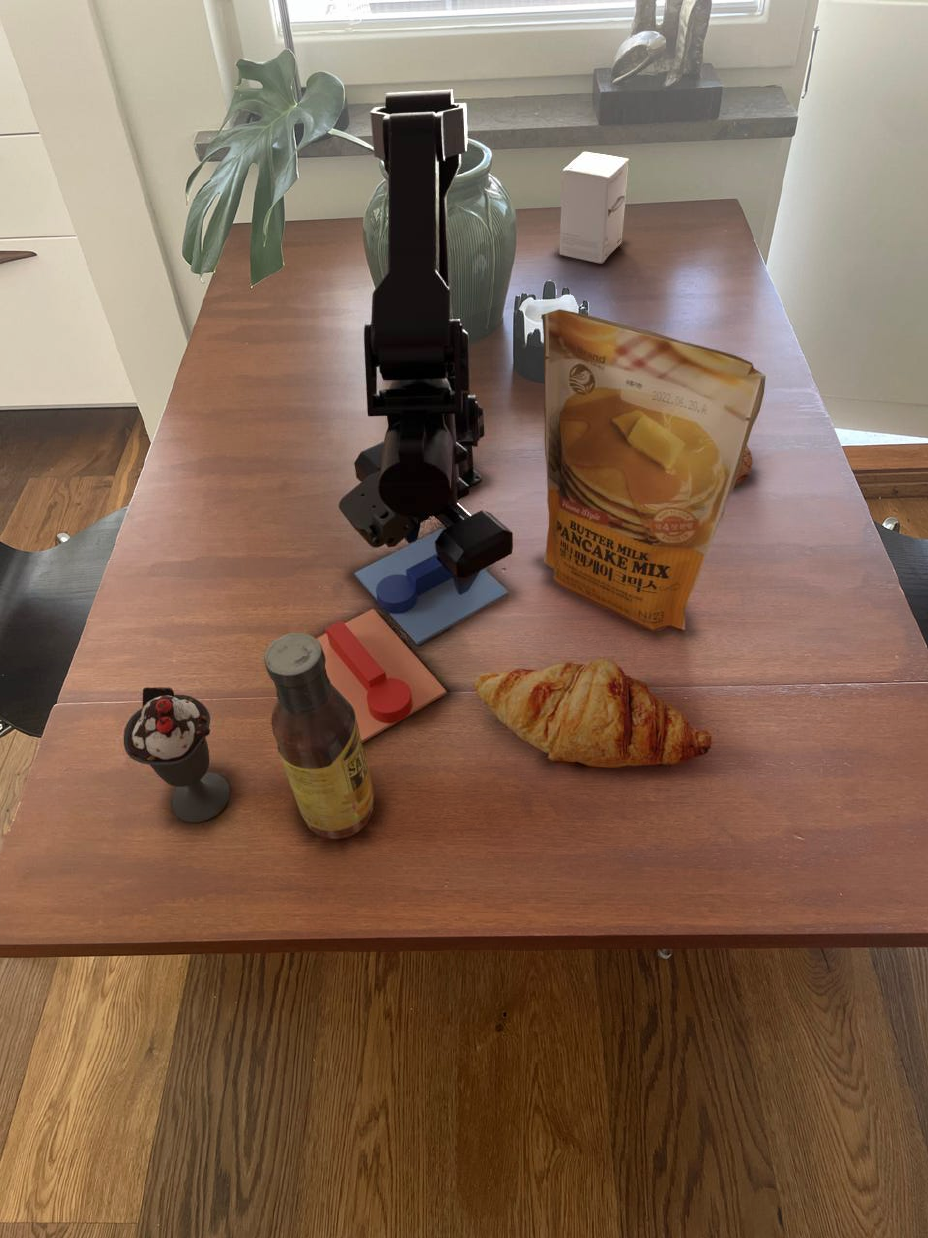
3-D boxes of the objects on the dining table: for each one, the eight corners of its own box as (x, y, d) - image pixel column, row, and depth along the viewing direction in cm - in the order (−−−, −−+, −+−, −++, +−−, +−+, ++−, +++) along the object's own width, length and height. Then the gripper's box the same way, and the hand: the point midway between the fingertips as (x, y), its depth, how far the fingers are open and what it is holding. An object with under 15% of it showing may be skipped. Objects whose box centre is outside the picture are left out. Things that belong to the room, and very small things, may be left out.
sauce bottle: (381, 834, 75) (345, 685, 61) (306, 850, 75) (251, 704, 60) (370, 768, 80) (334, 614, 65) (298, 783, 79) (245, 631, 64)
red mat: (373, 610, 92) (373, 608, 92) (446, 693, 85) (446, 690, 84) (285, 657, 89) (284, 655, 88) (353, 748, 81) (352, 745, 81)
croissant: (467, 741, 85) (446, 729, 78) (496, 638, 87) (478, 616, 80) (698, 804, 79) (699, 797, 72) (724, 692, 81) (727, 673, 73)
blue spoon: (465, 546, 97) (464, 529, 95) (488, 567, 95) (487, 551, 93) (370, 596, 93) (367, 580, 91) (391, 620, 91) (388, 603, 89)
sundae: (224, 838, 76) (172, 733, 65) (149, 825, 77) (85, 720, 66) (252, 770, 80) (207, 661, 69) (180, 759, 81) (125, 650, 70)
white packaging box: (602, 265, 136) (608, 177, 127) (557, 255, 139) (560, 168, 130) (623, 243, 140) (630, 157, 131) (579, 234, 143) (583, 149, 134)
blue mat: (442, 530, 99) (441, 528, 99) (508, 594, 93) (508, 592, 92) (354, 575, 96) (354, 572, 95) (417, 645, 89) (417, 643, 88)
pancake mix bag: (556, 533, 98) (564, 288, 78) (718, 609, 90) (776, 357, 69) (519, 570, 95) (517, 324, 74) (684, 652, 87) (734, 401, 66)
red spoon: (319, 650, 89) (315, 633, 87) (355, 630, 90) (351, 614, 88) (383, 731, 82) (380, 715, 80) (421, 709, 83) (418, 692, 81)
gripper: (294, 425, 84) (322, 549, 95) (403, 536, 73) (420, 660, 85) (397, 381, 88) (412, 505, 99) (515, 479, 77) (517, 606, 89)
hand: (436, 566), depth 93 cm, fingers open, 9 cm apart
